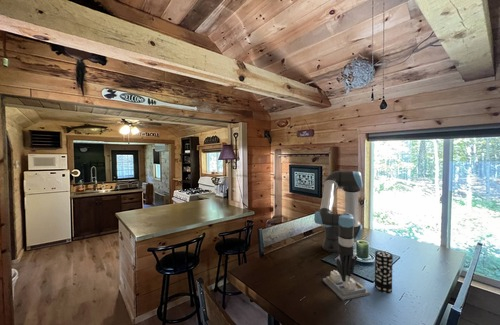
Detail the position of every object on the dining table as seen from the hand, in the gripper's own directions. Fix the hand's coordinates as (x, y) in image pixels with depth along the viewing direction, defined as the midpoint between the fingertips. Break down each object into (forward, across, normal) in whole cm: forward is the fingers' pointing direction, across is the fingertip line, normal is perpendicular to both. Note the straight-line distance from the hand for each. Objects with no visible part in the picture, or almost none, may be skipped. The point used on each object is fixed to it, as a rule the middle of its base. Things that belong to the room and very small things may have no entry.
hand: (345, 286), depth 119 cm
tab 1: (+2, 0, -9) cm, 9 cm away
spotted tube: (+4, -23, +2) cm, 23 cm away
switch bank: (+4, -3, -4) cm, 6 cm away
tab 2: (+2, -3, 0) cm, 3 cm away
